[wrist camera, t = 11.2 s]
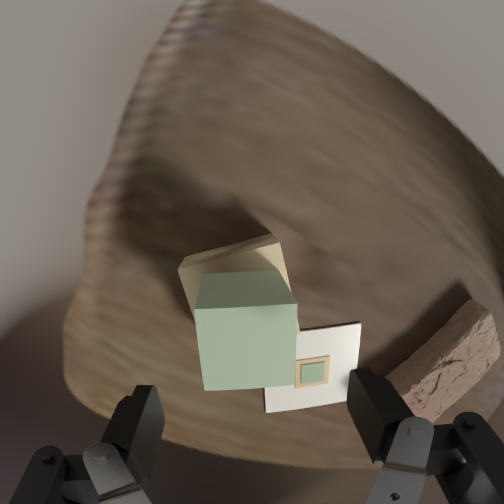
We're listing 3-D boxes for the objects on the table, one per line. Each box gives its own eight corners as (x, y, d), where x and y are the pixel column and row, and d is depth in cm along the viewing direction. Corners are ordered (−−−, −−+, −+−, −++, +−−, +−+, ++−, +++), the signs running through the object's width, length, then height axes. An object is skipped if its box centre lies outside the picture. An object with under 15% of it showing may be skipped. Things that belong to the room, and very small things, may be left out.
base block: (271, 233, 24) (279, 242, 20) (290, 312, 26) (300, 333, 22) (185, 255, 24) (177, 269, 20) (210, 333, 26) (208, 357, 22)
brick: (468, 293, 27) (495, 308, 23) (484, 338, 29) (507, 355, 24) (354, 394, 29) (370, 422, 24) (384, 426, 30) (399, 451, 26)
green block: (278, 269, 21) (297, 303, 15) (279, 335, 22) (294, 384, 16) (203, 273, 20) (194, 309, 15) (209, 339, 22) (204, 390, 16)
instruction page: (360, 322, 26) (362, 324, 26) (351, 398, 28) (353, 400, 28) (261, 334, 26) (261, 337, 25) (265, 411, 28) (266, 414, 27)
